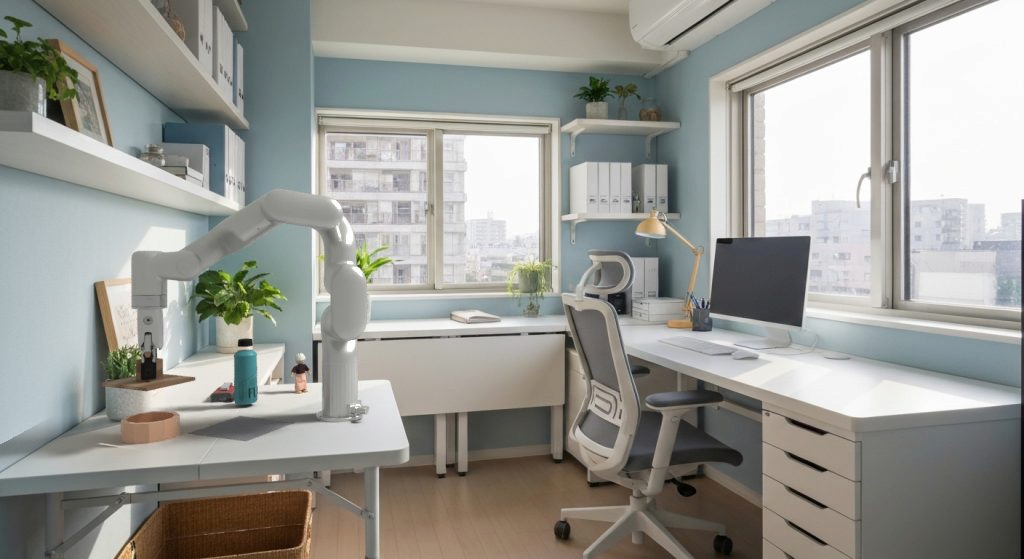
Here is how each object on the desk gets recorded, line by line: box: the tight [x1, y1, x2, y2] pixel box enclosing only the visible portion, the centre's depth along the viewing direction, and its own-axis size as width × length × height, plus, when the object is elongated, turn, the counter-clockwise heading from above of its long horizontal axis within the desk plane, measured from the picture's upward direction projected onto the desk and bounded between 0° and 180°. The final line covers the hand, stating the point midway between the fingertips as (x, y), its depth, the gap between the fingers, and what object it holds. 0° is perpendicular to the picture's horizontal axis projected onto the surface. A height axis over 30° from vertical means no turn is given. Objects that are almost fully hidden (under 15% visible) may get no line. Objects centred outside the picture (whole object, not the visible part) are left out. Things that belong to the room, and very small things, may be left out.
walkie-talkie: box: [210, 382, 234, 403], centre depth 200 cm, size 9×4×20 cm
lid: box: [100, 357, 196, 392], centre depth 153 cm, size 14×14×6 cm
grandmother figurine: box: [289, 352, 312, 394], centre depth 206 cm, size 8×4×13 cm, turn 154°
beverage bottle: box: [233, 338, 259, 405], centre depth 185 cm, size 6×7×20 cm
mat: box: [187, 415, 296, 442], centre depth 163 cm, size 18×18×1 cm
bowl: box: [120, 410, 181, 445], centre depth 154 cm, size 12×12×5 cm
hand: (149, 376), depth 154 cm, fingers closed on lid, 5 cm apart
